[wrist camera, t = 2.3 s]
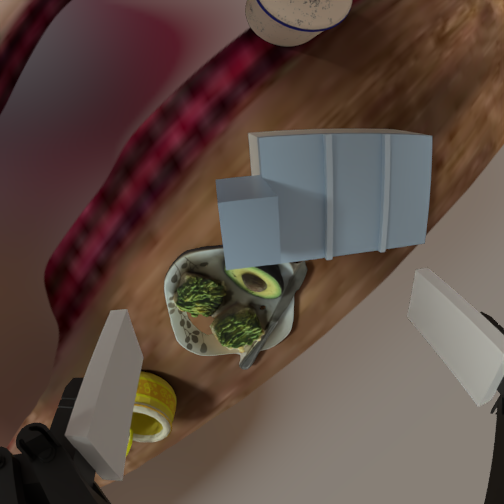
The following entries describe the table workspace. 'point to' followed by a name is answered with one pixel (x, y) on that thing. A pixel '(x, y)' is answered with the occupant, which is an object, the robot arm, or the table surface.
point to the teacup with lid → (294, 19)
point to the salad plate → (231, 303)
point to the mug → (152, 410)
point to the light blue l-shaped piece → (326, 198)
